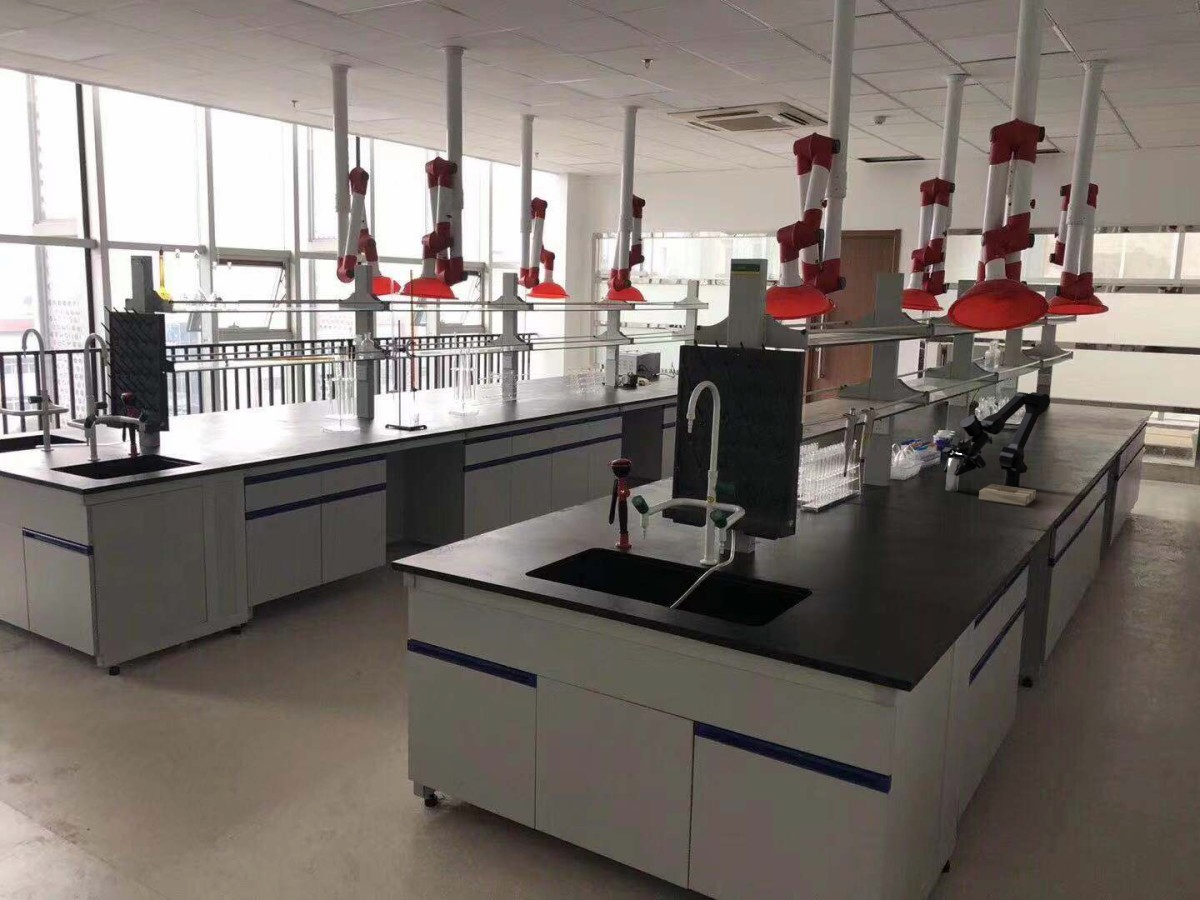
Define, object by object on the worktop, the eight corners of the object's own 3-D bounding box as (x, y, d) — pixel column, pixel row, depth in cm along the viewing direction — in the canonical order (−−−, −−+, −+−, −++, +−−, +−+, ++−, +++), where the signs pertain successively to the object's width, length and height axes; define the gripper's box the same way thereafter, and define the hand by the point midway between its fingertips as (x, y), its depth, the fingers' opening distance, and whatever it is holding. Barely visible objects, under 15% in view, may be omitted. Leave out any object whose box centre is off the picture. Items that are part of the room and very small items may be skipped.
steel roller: (947, 488, 362) (950, 457, 360) (958, 490, 359) (961, 458, 357) (943, 490, 358) (946, 458, 356) (955, 491, 356) (958, 460, 354)
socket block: (990, 492, 355) (991, 483, 355) (1034, 499, 346) (1035, 490, 345) (978, 499, 343) (979, 490, 342) (1024, 506, 333) (1025, 497, 333)
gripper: (948, 426, 365) (923, 455, 363) (982, 434, 348) (956, 464, 346) (962, 445, 369) (937, 474, 367) (997, 453, 352) (971, 483, 350)
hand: (950, 473), depth 357 cm, fingers open, 6 cm apart
